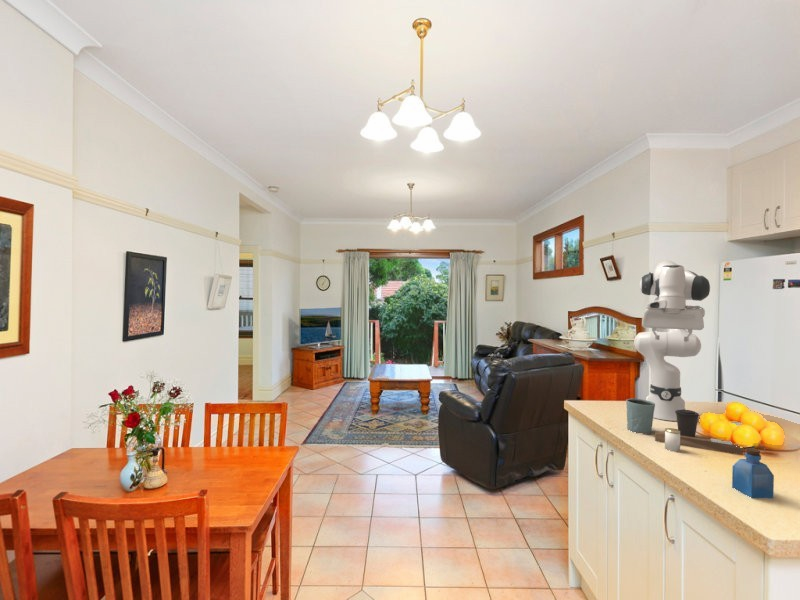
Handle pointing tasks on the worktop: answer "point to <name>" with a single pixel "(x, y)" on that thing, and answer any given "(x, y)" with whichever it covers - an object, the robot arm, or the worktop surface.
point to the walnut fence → (704, 443)
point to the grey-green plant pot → (640, 415)
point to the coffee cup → (687, 422)
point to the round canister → (672, 439)
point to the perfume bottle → (753, 476)
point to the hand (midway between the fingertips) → (671, 340)
